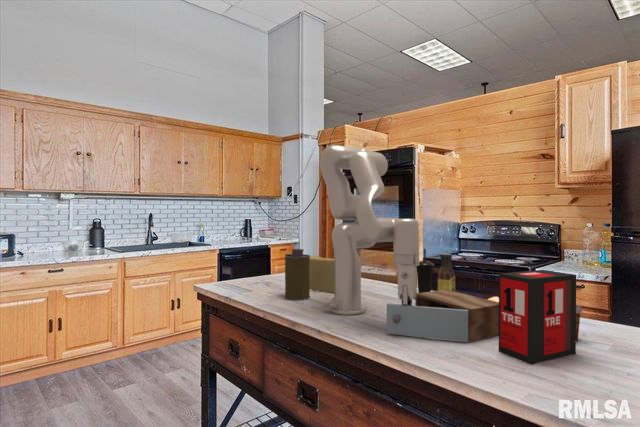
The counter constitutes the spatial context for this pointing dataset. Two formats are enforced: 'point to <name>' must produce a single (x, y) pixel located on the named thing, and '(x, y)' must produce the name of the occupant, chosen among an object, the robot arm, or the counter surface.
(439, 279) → the sauce bottle
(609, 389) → the counter surface
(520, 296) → the cleaning product box
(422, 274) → the drinking cup
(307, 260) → the canister
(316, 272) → the cheese
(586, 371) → the counter surface
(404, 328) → the door
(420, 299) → the cabinet
